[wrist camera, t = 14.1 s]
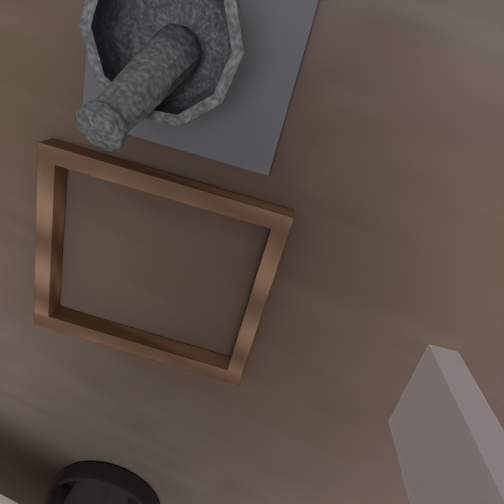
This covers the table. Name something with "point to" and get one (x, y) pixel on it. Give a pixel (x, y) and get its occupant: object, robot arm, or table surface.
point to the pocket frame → (168, 186)
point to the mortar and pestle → (157, 63)
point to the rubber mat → (243, 91)
